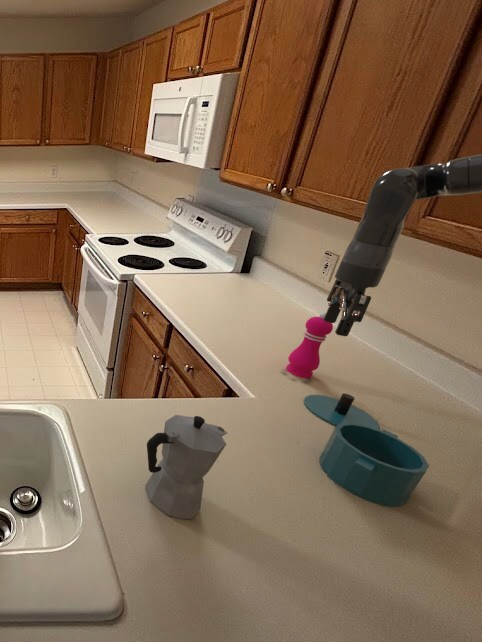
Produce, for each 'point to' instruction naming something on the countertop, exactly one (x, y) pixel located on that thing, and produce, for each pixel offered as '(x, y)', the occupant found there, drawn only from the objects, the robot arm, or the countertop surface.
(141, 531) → the countertop surface
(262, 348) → the countertop surface
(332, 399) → the lid
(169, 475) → the coffeepot
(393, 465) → the pot
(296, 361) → the pepper mill
